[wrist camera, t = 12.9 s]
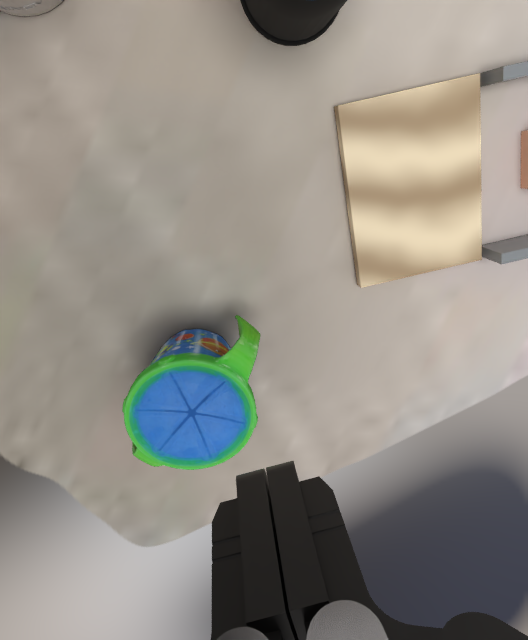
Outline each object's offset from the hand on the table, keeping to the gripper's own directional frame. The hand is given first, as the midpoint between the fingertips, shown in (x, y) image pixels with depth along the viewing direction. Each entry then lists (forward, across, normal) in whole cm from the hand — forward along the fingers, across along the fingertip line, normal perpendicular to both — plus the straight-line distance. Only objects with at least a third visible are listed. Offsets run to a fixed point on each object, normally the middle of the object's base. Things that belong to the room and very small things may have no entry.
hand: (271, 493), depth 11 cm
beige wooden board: (+30, -17, -1) cm, 35 cm away
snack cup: (+31, +6, +11) cm, 33 cm away
